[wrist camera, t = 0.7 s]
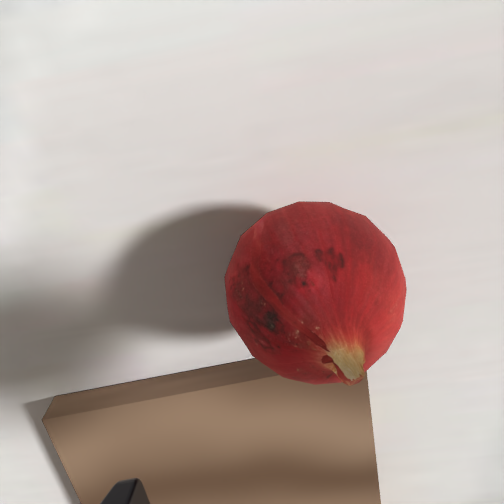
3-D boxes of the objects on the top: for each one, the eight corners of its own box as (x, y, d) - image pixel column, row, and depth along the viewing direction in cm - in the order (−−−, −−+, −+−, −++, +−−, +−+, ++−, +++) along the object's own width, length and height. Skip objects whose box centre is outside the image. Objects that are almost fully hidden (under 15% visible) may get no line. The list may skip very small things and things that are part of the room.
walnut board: (376, 520, 24) (385, 547, 22) (130, 565, 24) (124, 594, 23) (355, 339, 19) (365, 358, 18) (55, 396, 20) (41, 420, 18)
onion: (207, 288, 18) (192, 429, 11) (255, 159, 16) (278, 221, 9) (331, 327, 19) (396, 479, 12) (389, 209, 17) (511, 302, 10)
